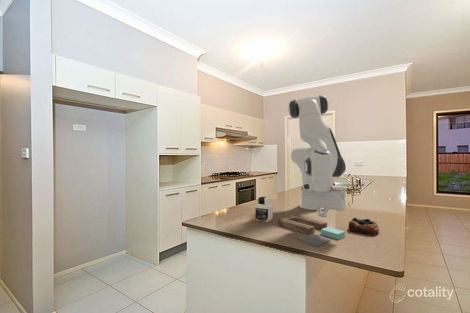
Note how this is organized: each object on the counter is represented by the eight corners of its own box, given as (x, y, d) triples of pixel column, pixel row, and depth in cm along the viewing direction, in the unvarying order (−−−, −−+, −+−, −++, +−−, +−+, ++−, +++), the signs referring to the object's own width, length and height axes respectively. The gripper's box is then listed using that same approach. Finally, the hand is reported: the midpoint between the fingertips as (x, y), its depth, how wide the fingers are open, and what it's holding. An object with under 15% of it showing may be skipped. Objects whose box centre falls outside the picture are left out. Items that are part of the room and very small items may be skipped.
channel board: (296, 219, 126) (296, 214, 126) (327, 227, 112) (327, 222, 112) (278, 224, 118) (278, 219, 118) (309, 234, 103) (309, 228, 103)
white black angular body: (255, 220, 126) (255, 197, 125) (260, 217, 132) (260, 195, 132) (268, 222, 122) (267, 199, 122) (272, 218, 129) (272, 196, 128)
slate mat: (311, 235, 103) (311, 233, 103) (330, 241, 95) (330, 239, 95) (297, 239, 97) (297, 238, 97) (317, 246, 90) (317, 245, 90)
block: (327, 232, 106) (327, 227, 106) (344, 237, 100) (344, 231, 100) (320, 235, 103) (320, 229, 103) (338, 240, 97) (338, 234, 97)
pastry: (352, 225, 116) (352, 213, 116) (380, 230, 108) (380, 217, 108) (346, 231, 107) (346, 218, 107) (377, 237, 100) (376, 223, 99)
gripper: (348, 188, 100) (348, 220, 101) (307, 183, 116) (307, 211, 117) (340, 190, 96) (341, 223, 97) (299, 184, 112) (299, 213, 113)
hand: (322, 216), depth 107 cm, fingers closed
